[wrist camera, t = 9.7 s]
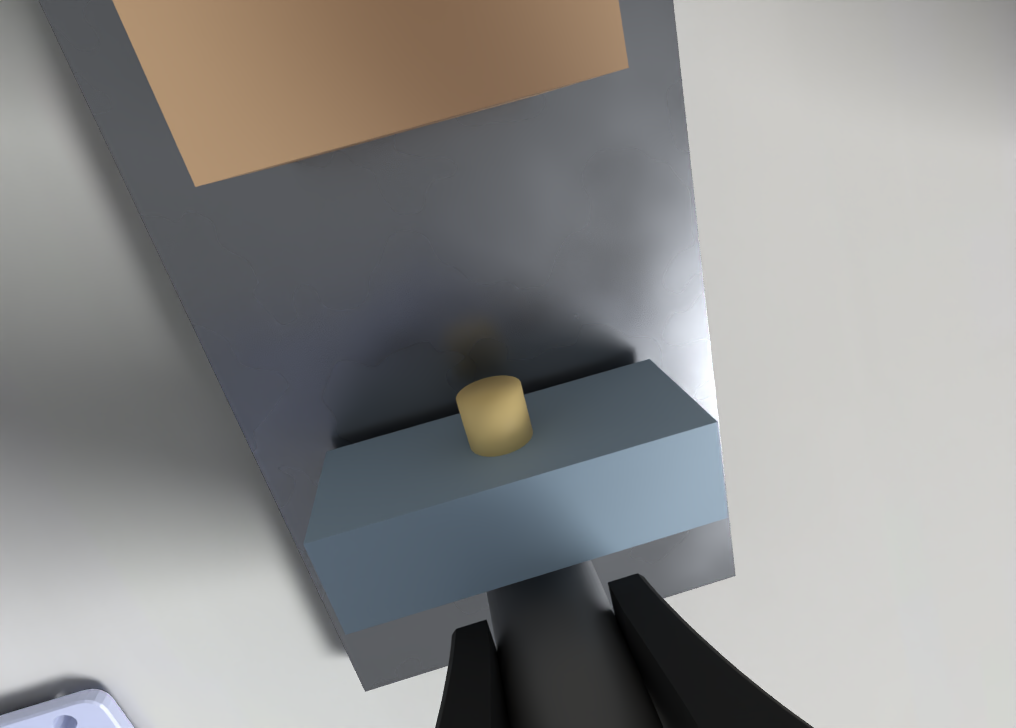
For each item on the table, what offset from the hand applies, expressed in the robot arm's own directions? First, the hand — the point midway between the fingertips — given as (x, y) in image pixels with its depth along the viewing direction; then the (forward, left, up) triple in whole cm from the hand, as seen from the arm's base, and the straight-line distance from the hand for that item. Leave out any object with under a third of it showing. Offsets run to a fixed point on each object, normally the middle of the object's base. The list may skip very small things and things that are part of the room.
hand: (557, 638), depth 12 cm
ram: (0, +2, -3) cm, 3 cm away
